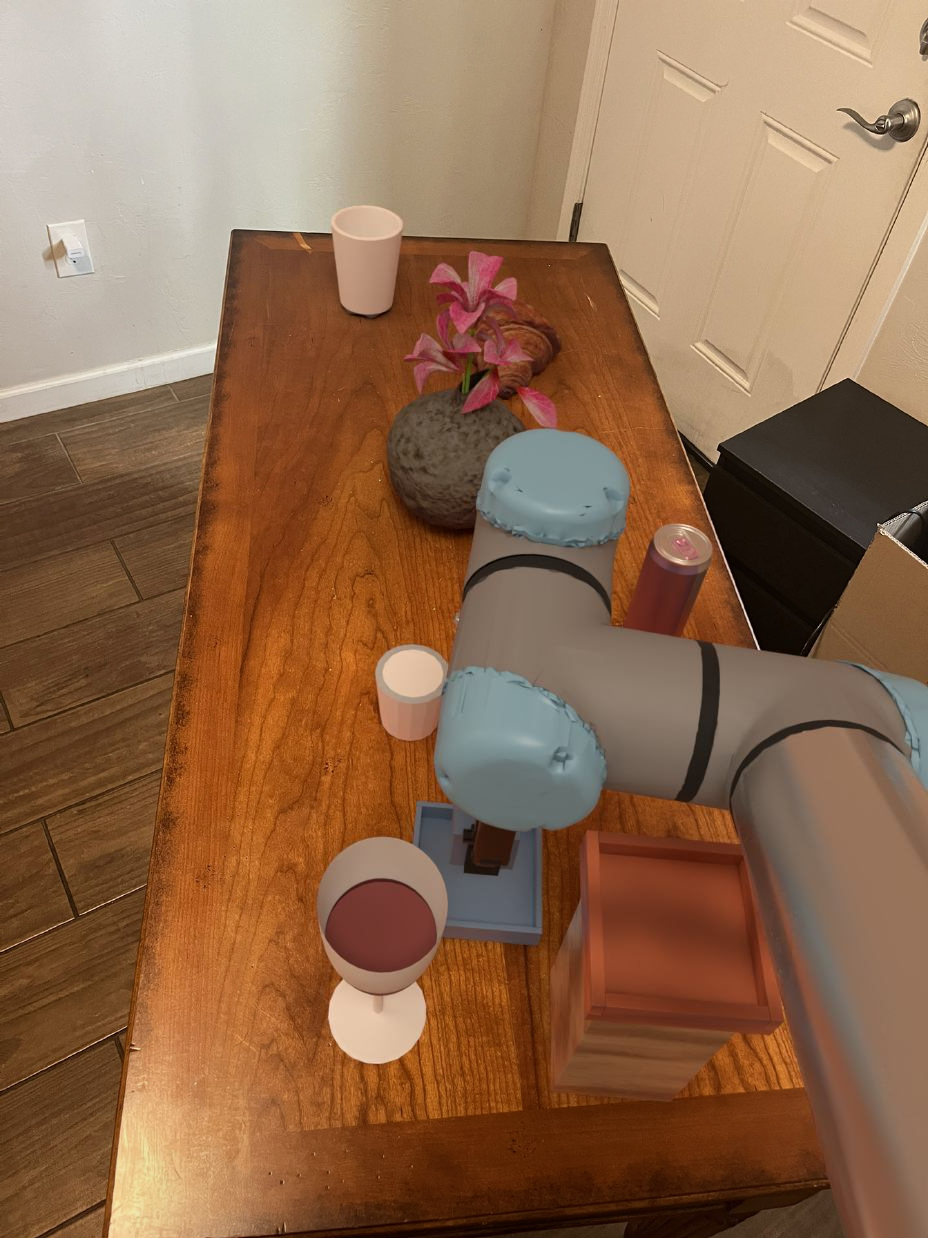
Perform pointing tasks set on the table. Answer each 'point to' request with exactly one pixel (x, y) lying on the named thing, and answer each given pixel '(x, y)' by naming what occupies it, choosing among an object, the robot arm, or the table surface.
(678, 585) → the beverage can
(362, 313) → the cup
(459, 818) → the slate block
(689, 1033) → the stand
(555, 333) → the pastry
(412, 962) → the wineglass
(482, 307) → the vase
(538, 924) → the tray
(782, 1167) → the table surface
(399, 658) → the shot glass
